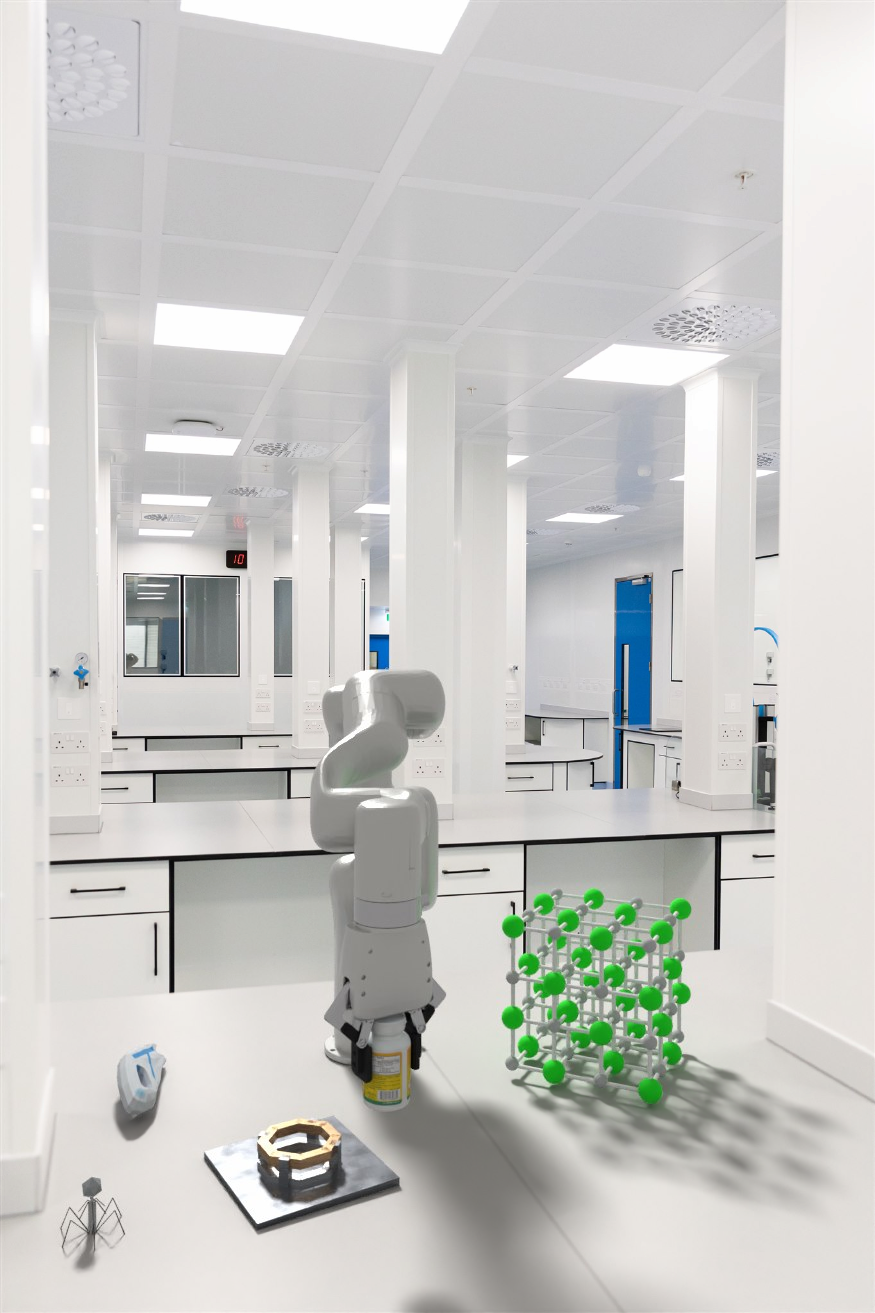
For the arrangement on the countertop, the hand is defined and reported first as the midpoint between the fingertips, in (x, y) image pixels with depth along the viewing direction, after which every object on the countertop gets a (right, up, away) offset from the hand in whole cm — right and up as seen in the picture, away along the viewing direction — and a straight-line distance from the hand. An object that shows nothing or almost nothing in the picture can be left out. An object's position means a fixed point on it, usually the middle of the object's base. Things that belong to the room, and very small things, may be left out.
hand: (386, 1070), depth 109 cm
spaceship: (-33, -18, +30) cm, 48 cm away
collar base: (-11, -17, +10) cm, 23 cm away
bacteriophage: (-32, -18, -2) cm, 37 cm away
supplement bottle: (0, -4, 0) cm, 4 cm away
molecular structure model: (+31, -17, +44) cm, 56 cm away
